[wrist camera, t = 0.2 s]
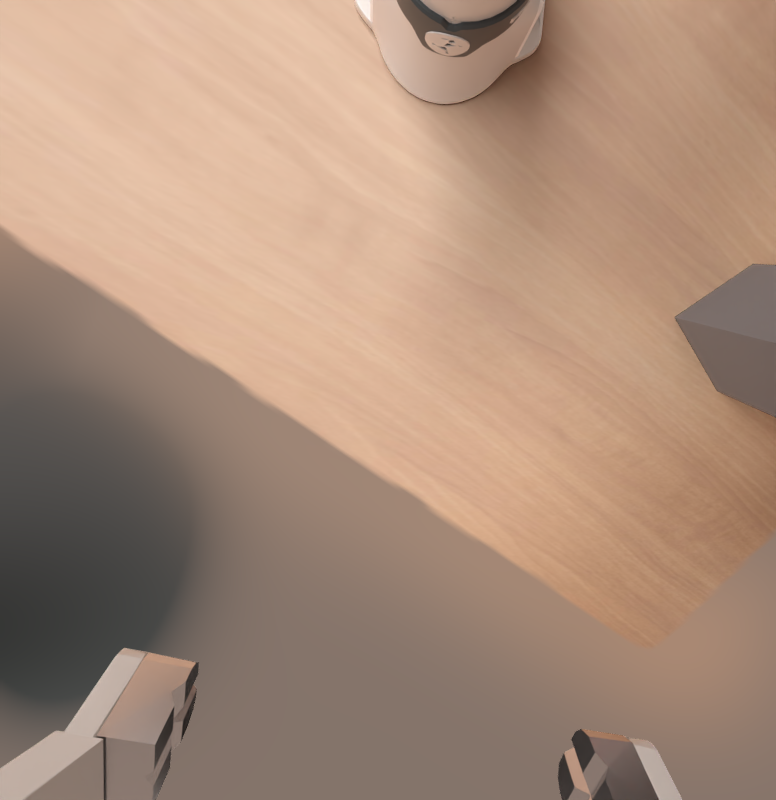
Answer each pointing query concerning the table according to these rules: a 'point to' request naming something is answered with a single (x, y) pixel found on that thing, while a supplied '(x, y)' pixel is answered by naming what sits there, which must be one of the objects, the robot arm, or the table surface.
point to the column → (738, 336)
